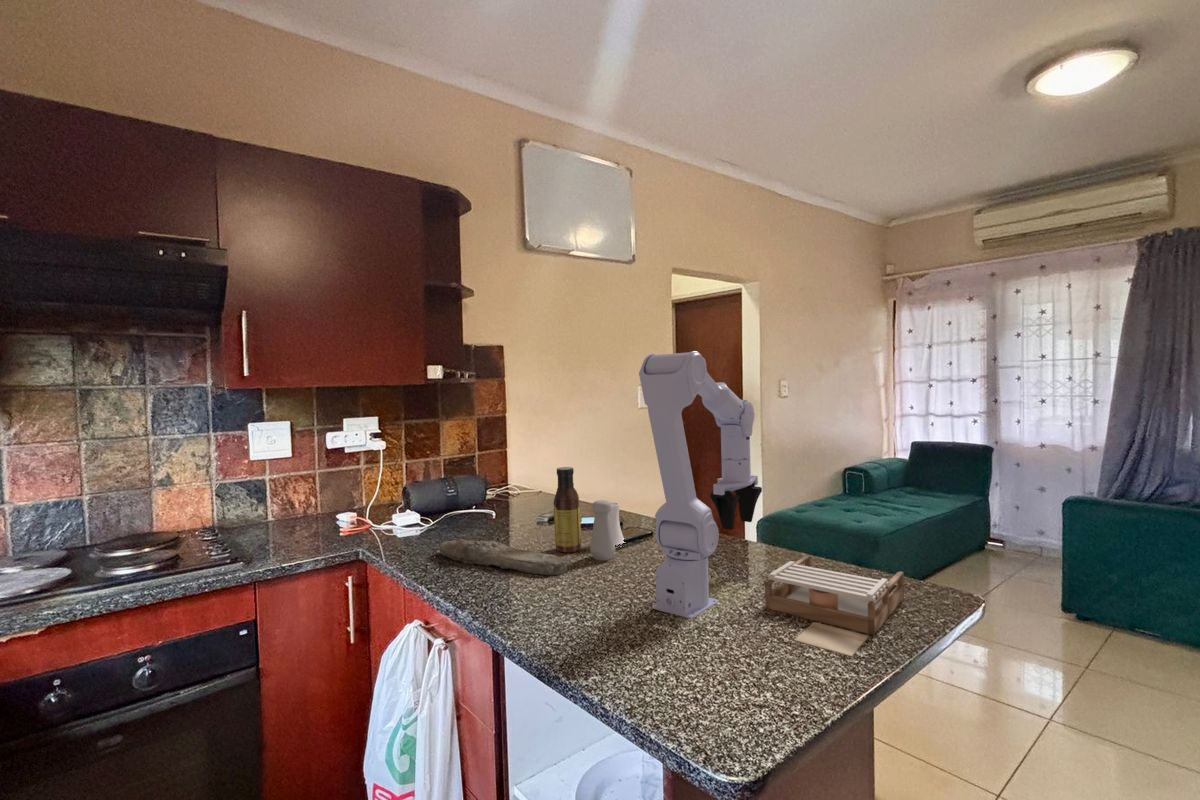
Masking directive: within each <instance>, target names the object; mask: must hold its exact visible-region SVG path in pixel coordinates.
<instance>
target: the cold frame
mask: <svg viewBox="0 0 1200 800" xmlns="http://www.w3.org/2000/svg"><path fill="white" fill-rule="evenodd" d="M794 562H795V564H797V565H802V564H804V566H808V567H812V563H811V562H812V560H811V555H807V554H806V555H804V556H803V557H801V558H800V559H798V560H797V561H794ZM904 578H905V576H904V571H900V570H899V571H897V572H895V574H894V575H893V576H892V577H891V578H890V580H888V582H889V586H888V587H886V589H885V590H883V593H882V594H879V597H878V598H876V600H875V601H874V602H872V601H867V600H863V599H858V598H853V597H849V596H844V595H839V594H838V610H836V609H832V608H827V607H823V606H819V605H814V604H810V603H809V588H806V587H802V586H797V585H792V584H787V583H783V582H781V584H779V585H778V586H776V587H775V588H773V589H772V584H773V583H775V581H773V580H769V579H766V580H765V581H764V600H765V601H764V603H765V605H764V606H765V609H767V610H771V611H774V612H775V611H776V612H779V613H783V614H787V615H791V616H794V617H798V618H803V619H806V620H811V621H814V622H818V623H822V624H826V625H827V624H828V625H830V626H834V627H838V628H842V629H846V630H850V631H854V632H858V633H862V634H866V635H871V636H875V634H876V633H877V632H878V631H879V630H880V629H881V628H882V626H883V624H884V623H885V622H886V621H887V620H888V619H889V617H890V616H891V615H892V614H893V612H894V611H896V609H897V607H898V606H899V604H901V603H902V602H903V600H904V599H905V583H904V582H905V580H904Z"/></svg>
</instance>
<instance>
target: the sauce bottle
mask: <svg viewBox="0 0 1200 800" xmlns="http://www.w3.org/2000/svg"><path fill="white" fill-rule="evenodd" d="M574 472H575V471H574V467H572V466H562V467H557V468H556V476H557V488H556V492H555V496H554V499H553V520H554V521H553V522H554V523H553V524H554V543H555V549H556V551H557V552H561V553H566V554H567V553H568V554H571V553H573V552H574V553H575V552H578V551H580V550H581V548H582V532H581V531H582V530H581V529H582V528H581V512H580V511H581V509H580V508H581V506H580V499H579V498H580V497H579V494H578V492H577V489H576V488H575V487H574V485H575V484H574V474H575V473H574Z"/></svg>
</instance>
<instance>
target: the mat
mask: <svg viewBox="0 0 1200 800" xmlns="http://www.w3.org/2000/svg"><path fill="white" fill-rule="evenodd" d="M868 638H869V634H865V633H861V632H857V631H853V630H849V629H845V628H841V627H837V626H833V625H829V624H828V625H827V624H825V623H821V622H817V621H814V622H812V623H811V624H810V625H809V626H808V627H806V629H804V631H802V632H801V633H800V634H799V635H798V636H797V637H795V638H794V641H795V642H798V643H801V644H804V645H808V646H812V647H816V648H818V649H822V650H826V651H829V652H832V653H837V654H841V655H844V656H848V657H851V658H852V657H854V655H855V653H857V651H858V650H859V649H860V648H861V646H862V645H863V644H864V643H865V642H866V641H867V639H868Z"/></svg>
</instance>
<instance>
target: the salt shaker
mask: <svg viewBox="0 0 1200 800" xmlns="http://www.w3.org/2000/svg"><path fill="white" fill-rule="evenodd" d="M611 503H612V502H610V501H608V500H604V499H603V500H602V499H599V500H596V501H594V502H593V503H592V512H594V513H595V514H594V519H593V526H592V532H591V538H590V544H589V550H590V553H591V555H592V558H593V559H594V560H595V561H599V562H603V561H604V562H605V561H609V560H612V559H613V557H614V553H615V551H616V548H615V544H614V539H613V533H612V528H611V522H610V517H609V512H610V511H611Z"/></svg>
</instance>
